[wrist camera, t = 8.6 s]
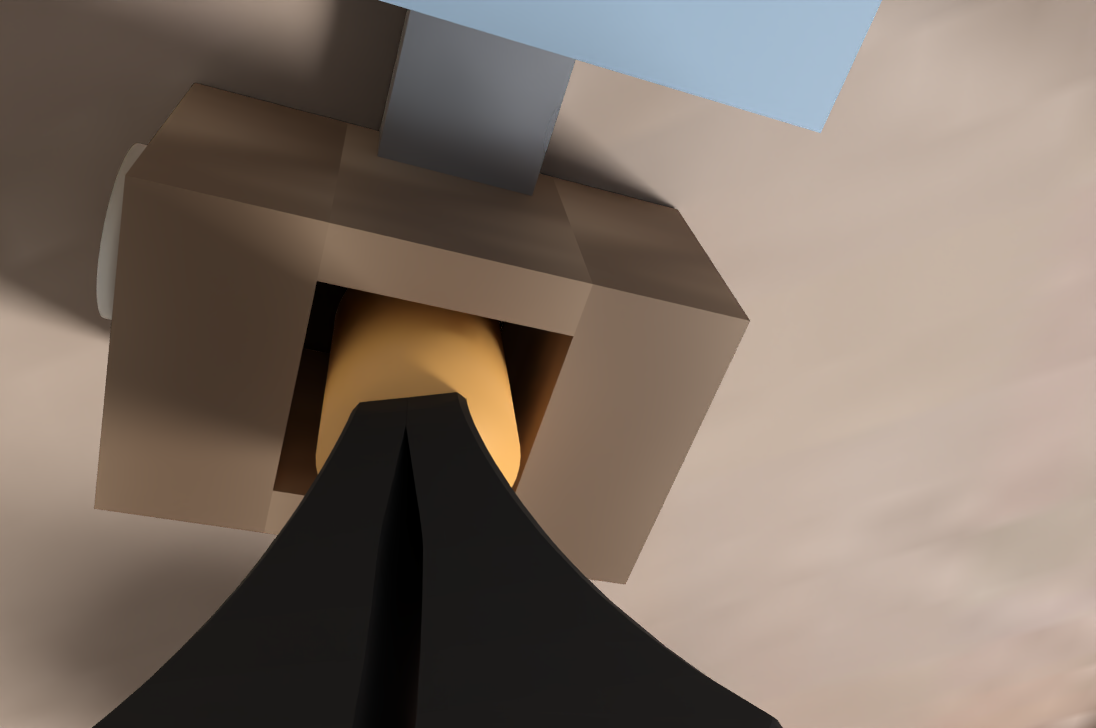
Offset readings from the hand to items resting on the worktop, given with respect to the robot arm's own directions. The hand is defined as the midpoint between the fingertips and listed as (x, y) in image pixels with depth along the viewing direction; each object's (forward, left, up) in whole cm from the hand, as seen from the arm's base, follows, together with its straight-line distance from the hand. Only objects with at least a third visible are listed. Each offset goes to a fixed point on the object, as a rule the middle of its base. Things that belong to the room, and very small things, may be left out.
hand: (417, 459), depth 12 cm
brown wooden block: (0, 0, -5) cm, 5 cm away
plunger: (0, 0, -2) cm, 2 cm away
